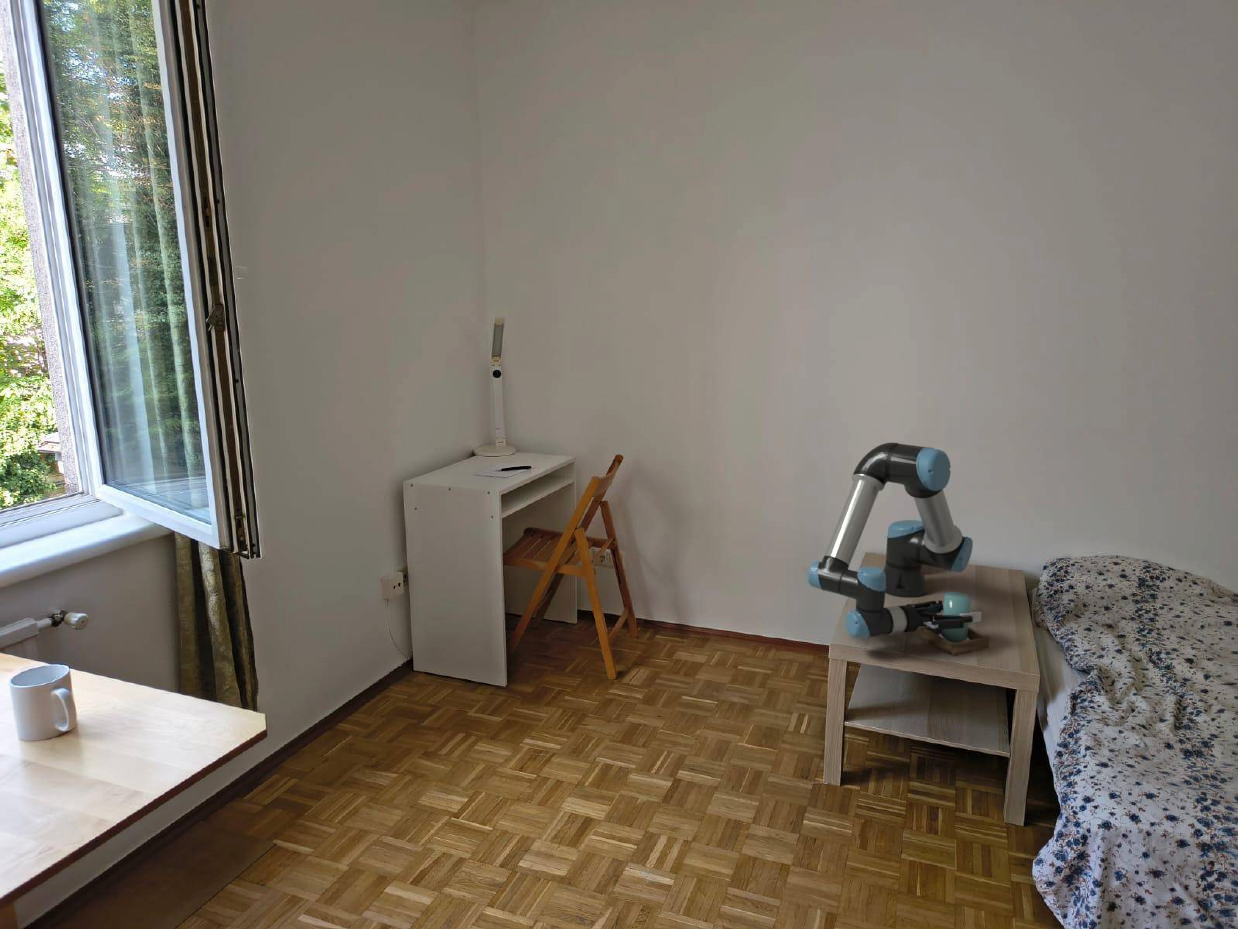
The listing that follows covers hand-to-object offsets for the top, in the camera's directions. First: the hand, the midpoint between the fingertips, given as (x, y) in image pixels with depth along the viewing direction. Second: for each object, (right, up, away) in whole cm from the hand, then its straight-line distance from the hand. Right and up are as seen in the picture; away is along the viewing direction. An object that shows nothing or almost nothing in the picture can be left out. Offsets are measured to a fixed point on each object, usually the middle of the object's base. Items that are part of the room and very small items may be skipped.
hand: (971, 611), depth 243 cm
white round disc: (-5, -9, +1) cm, 10 cm away
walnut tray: (-5, -9, +1) cm, 10 cm away
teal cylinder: (-5, -7, 0) cm, 9 cm away
